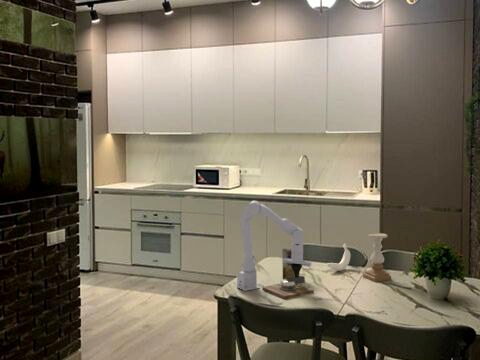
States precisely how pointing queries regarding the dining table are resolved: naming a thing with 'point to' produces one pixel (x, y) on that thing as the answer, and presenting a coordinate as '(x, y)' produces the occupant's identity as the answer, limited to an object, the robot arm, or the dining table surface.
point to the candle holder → (377, 260)
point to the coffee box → (287, 264)
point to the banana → (343, 263)
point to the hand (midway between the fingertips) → (296, 278)
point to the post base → (287, 291)
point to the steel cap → (292, 281)
